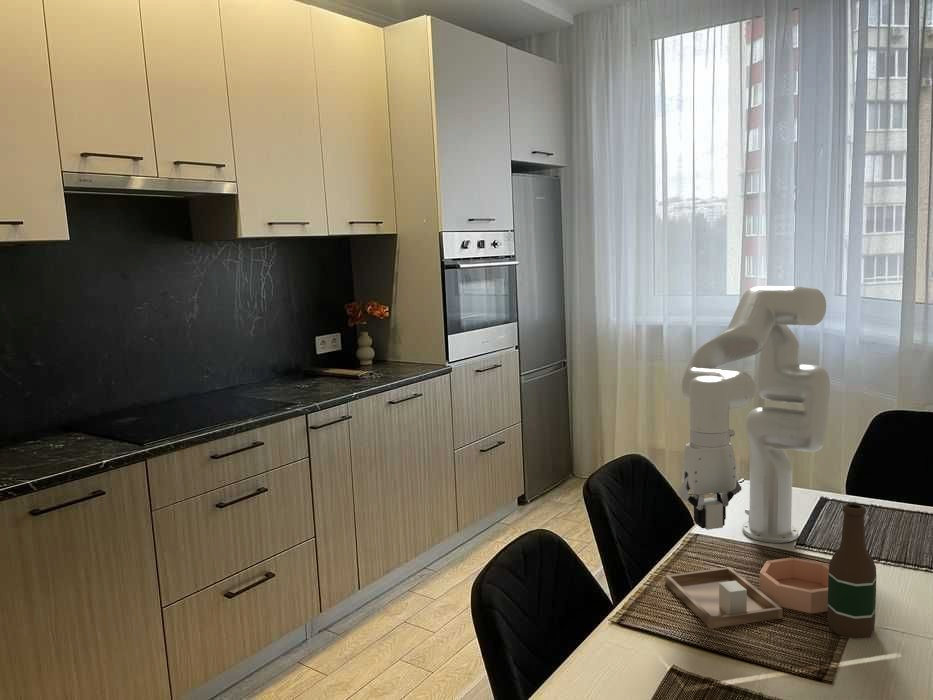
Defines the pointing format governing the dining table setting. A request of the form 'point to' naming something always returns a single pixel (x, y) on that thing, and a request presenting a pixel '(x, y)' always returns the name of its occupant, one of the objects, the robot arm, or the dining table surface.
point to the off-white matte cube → (713, 513)
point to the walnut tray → (704, 597)
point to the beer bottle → (852, 580)
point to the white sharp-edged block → (732, 597)
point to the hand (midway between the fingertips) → (709, 523)
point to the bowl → (796, 584)
